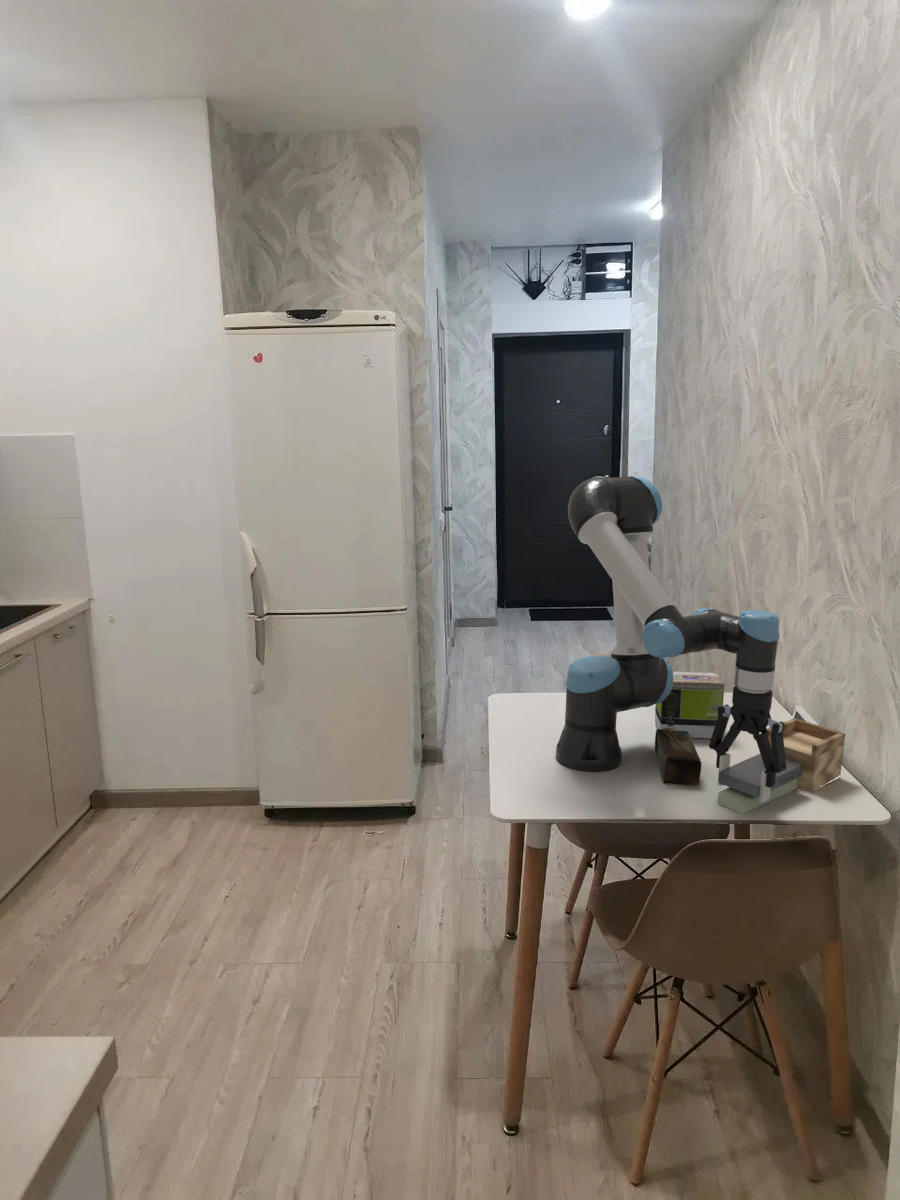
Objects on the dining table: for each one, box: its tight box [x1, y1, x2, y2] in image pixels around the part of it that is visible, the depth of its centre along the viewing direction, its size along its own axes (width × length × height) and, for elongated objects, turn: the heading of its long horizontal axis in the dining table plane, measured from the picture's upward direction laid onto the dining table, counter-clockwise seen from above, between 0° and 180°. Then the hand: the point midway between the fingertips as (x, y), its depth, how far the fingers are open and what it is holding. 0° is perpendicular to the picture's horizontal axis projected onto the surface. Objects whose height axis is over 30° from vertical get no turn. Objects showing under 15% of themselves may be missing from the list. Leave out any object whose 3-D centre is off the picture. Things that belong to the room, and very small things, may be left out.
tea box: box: [654, 670, 725, 740], centre depth 216 cm, size 15×10×15 cm, turn 84°
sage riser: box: [717, 778, 797, 815], centre depth 181 cm, size 20×6×2 cm, turn 129°
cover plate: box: [717, 753, 803, 798], centre depth 181 cm, size 17×9×2 cm, turn 129°
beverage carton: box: [653, 728, 703, 787], centre depth 194 cm, size 8×19×7 cm, turn 173°
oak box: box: [767, 717, 846, 792], centre depth 191 cm, size 12×12×10 cm
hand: (743, 791), depth 177 cm, fingers closed on cover plate, 9 cm apart
